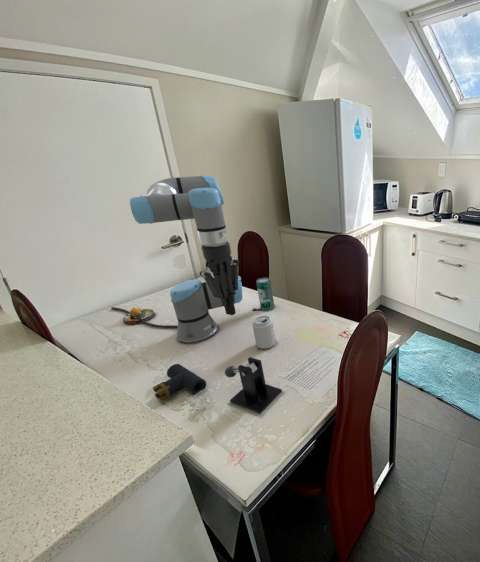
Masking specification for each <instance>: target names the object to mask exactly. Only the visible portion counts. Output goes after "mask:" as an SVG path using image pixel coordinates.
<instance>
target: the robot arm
mask: <svg viewBox="0 0 480 562" xmlns="http://www.w3.org/2000/svg"><path fill="white" fill-rule="evenodd" d="M224 204H225V201H224V198H223V194H222V191H221V189H220V186H219V183H218V181H217V179H216V178H215V177H214V176H211V175H195V176H181V177H180V176H179V177H168V178H164V179H160V180H159V181H156V182H154V183H152V184H151V185H150V186H149V187H148V188H147V190H146V195H139V196H132V197H130V199H129V207H130V211H131V214H132V217H133V220H134V221H135V222H136V223H137V224H141V225H145V224H151V225H152V224H157V223H165V222H173V221H174V222H175V221H187V220H194V222H195V226H196V232H197V236H198V240H199V244H200V245H201V246H200V247H201V252H202V256H203V258H204V260H205V268H204V270H203V271H200V272H199V276H200V277H202V278H203V279H204V280H205V282H202V281H201V280H200V279H198V278H195V279H194V278H193V279H187V280H184V281H181V282H179V283H177V284H176V285H174V286H173V287H172V288H171V289H170V291H169V295H170V301H171V303H172V306H173V309H174V312H175V315H176V319H177V325H170V324H169V325H166V324H165V325H164V324H155V323H151V322H148V321H143V320H141V321H140V322H141V323H142V324H145V325H147V326H151V327H155V328H163V329H165V328H166V329H171V328H172V329H173V328H174V329H175V328H176V329H177V331H176V337H177V340H178V342H181V343H182V344H195V343H200V342H203V341H206V340H208V339H210V338H211V337H213V336H215V334H216V333H217V332H218V330H219V327H218V324H217V322H216V321H215V320H214V318H213V316H211V314H210V312H209V311H210V310H213V309H214V310H215V309H217V308H224V310H225V314H226V315H228V316H234V315H236V314H237V312H236V307H235V304H239V303H241V302H242V300H243V284H242V276H240V275H239V265H240V260H239V259H237V258H236V259H235V258H233V256H232V249H231V244H230V242H229V234H228V231H227V226H226V222H225V221H226V220H225V217H224V216H225V215H224V211H223V206H222V205H224ZM110 309H111V310H114V311H115V310H116V311H120V312H123V313H126V314H130V311H129V310H126V309H124V308H121V307H120V308H119V307H114V306H111V307H110ZM137 320H140V318H137Z"/></svg>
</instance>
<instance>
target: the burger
mask: <svg viewBox="0 0 480 562" xmlns="http://www.w3.org/2000/svg"><path fill="white" fill-rule="evenodd" d="M129 310H130V311H129V312H130V314H128V313H126V315H125V316H124V317H123V318H122V319H123V323H124V324H128V325H133V324H134V325H136V324H141V323H142V322H140V321H141V320H143V321H145V322H148V321H149V320H150V319H152V318H153V317H155V311H154V309H150V308H143V309H142V308H141V307H139V306H135V307H134V306H133V307H132V308H131V309H129ZM137 318H140V320H137Z"/></svg>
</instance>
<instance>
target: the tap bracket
mask: <svg viewBox="0 0 480 562" xmlns="http://www.w3.org/2000/svg"><path fill="white" fill-rule="evenodd" d="M247 361H248V363H253V362H254V363H255V365H256V366H257V368H258V369H257V370H256V371H255V372H253V373H252V369H251V368H249V367H246V365H243V364H239V365H238V366H237V368H238V369H239V373H238V374H239V377H240V383H241V386H242V388H241V390H239V392H237V393H236V394H235V395H233V397H232V398H231V399H230V400H229V402H230V403H231V404H233V405H236V406H238V407H241V408H244V409H246V410H250V411H253V412H254V413H257V414H259V415H261V414H262V413H263V412H264V411H265V410H266V409H267V408H268V407H269V405H271V403H273V401H274V400H275V399H276V398H277V397H278V396H279V395H280V394H281V393H282V392H283V390H282V389H281V388H279V387H275V386H272V385H269V384H266V380H265V374H264V368H263V363H262V360H261V359H258V358H254V357H252V356H250V357H248V358H247Z"/></svg>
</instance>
